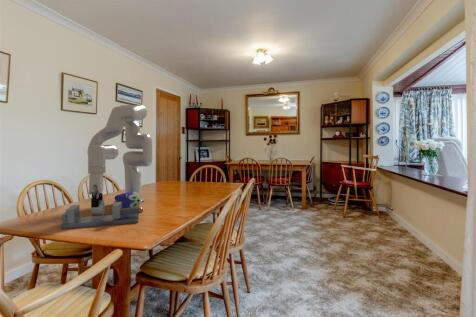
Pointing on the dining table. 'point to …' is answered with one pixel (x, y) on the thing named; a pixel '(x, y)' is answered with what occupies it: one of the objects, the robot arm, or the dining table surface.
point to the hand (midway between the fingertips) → (97, 205)
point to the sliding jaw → (124, 210)
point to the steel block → (98, 209)
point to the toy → (129, 199)
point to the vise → (93, 219)
